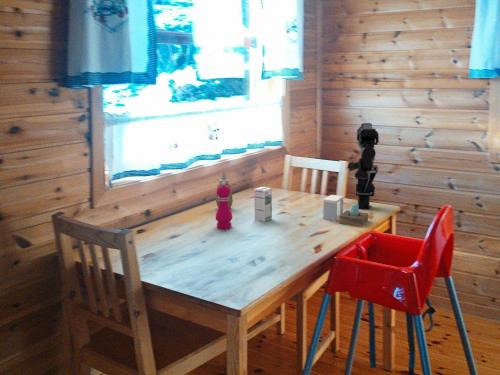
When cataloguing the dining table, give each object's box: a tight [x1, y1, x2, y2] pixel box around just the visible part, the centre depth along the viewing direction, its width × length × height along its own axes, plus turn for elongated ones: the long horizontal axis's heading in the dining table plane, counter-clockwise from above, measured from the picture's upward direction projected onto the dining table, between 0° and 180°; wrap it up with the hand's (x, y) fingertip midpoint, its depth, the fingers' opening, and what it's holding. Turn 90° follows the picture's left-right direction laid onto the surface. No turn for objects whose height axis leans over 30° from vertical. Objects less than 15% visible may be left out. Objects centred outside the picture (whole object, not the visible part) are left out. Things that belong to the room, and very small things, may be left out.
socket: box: [339, 210, 369, 227], centre depth 247 cm, size 10×10×4 cm
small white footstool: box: [322, 194, 344, 221], centre depth 255 cm, size 10×6×9 cm, turn 153°
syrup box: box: [253, 186, 273, 222], centre depth 250 cm, size 6×6×14 cm
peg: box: [350, 203, 360, 217], centre depth 246 cm, size 3×3×8 cm
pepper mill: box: [215, 182, 233, 230], centre depth 238 cm, size 7×7×20 cm
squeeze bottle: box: [215, 171, 234, 210], centre depth 267 cm, size 8×8×18 cm
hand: (365, 189), depth 256 cm, fingers open, 9 cm apart
